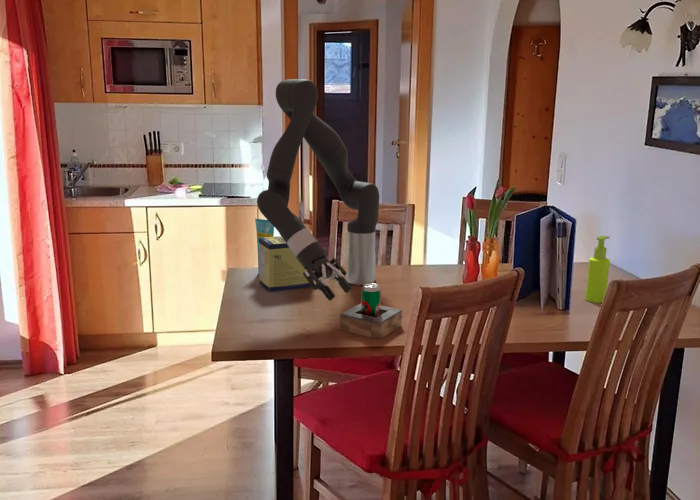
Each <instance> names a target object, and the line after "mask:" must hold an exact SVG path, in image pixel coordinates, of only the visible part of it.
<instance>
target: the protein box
mask: <svg viewBox="0 0 700 500" xmlns="http://www.w3.org/2000/svg"><path fill="white" fill-rule="evenodd" d="M305 270H306V269H304V267H303V266H302V265H301V263H300V262H299V261H298V259H297V258H296V257H295V255H294V254H293V253H292V251H291V250H290V248H289V246H288V245H287V243H286V242H285V240H284V239H283V238H282V236H281V235H279V236H274V237H264V238H259V272H258V275H259V277H258V278H259V280H258V281H259V285H260V286H262V287H263V288H264V289H266V290H267V291H268V292H269V293H270V292H279V291H287V290H288V291H289V290H296V289H297V290H298V289H307V288H312V286H311V285H310V284H309V282H308V281H307V279H306V278H305V276H304V275H303V272H304V271H305ZM313 282H315V280H314V281H313Z"/></svg>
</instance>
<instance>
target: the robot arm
mask: <svg viewBox="0 0 700 500" xmlns="http://www.w3.org/2000/svg"><path fill="white" fill-rule="evenodd" d="M275 99H276V102H277V104H278V107H280V109H281V110H282V112H283V113H284V114H285V115H286V116H287V118H288V119H289V122H288V125H287V127H286V128H285V130H284V132H283V133H282V135H281V136H280V138H279V139H278V141H277V142H276V144H275V146H274V148H273V150H272V152H271V155H270V158H269V163H268V167H267V171H266V178H267V180H268V185H267V186H268V187H267V189H264V190H262V191H261V192H260V193H259V194H258V196H257V198H256V205H257V208H258V210H259V212H260V213H261V215H262V216H263V217H264V218H265V220H268V221H269V222H270V223H271V224H272V225H273V226H274V229H276V230H277V232H278V233H279V236H282V238H283V239H284V240H285V242H286V243H287V245H288V246H289V248H290V250H291V251H292V253H293V254H294V255H295V257H296V258H297V259H298V261H299V262H300V263H301V265H302V266H303V267H304V269H306V270H305V271H304V272H303V275H304V276H305V278H306V279H307V281H308V282H309V284H310V285H311V286H312V287H311V288H312V289H313V290H314V291H317V290H318V291H321V293H322V294H323V295H324V296H325V298H326V299H327V300H328V301H329V302H330V301H333V300H334V298H335V297H336V294H335V293H334V292H333V290H332V289H331V287H330V286H329V285H327V279H329V280H334V281H335V282H337V283H338V285H339V286H340V288H341V289H342V290H343V292H344V293H345V294H347V293H349V292H350V291H351V290H352V286H351V285H350V284H352V285H356V286H357V285H358V286H362V285H364V284H368V283H375V280H376V255H377V254H376V227H377V224H378V220H379V209H380V208H379V207H380V191H379V189H378V187H377V186H376V184H375V183H373V182H365V181H359V180H357V178H355V177H354V175H353V174H352V173H351V170H350V169H349V166H348V164H349V151H348V149H347V146H346V145H345V143H344V142H343V140H342V138H341V137H340V136H339V134H338V133H337V131H336V130H334V129H333V128H332V127H331V126H330V125H329V124H327V123H326V122H325V121H323V120H322V119H321V118H320V117H318V116H317V115H316V114H315V113H314V112H315V110H316V107H317V102H318V100H319V92H318V88H317V85H316V83H314V82H313V81H312V80H311V79H305V78H304V79H302V78H300V79H299V78H298V79H297V78H295V79H294V78H293V79H284V80H281V81H280V82H279V83H278V84H277V86H276V87H275ZM303 139H304V140H305V142H306V143H307V145H308V146H309V147H310V149H311V150H312V152H313V153H314V155H315V158H317V159H316V160H318V161H319V163H320V164H321V165H322V167H323V168H324V170H325V172H326V173H327V175H328V177H329V178H330V180H331V181H332V182H333V185H334V187H335V189H336V190H337V192H338V194H339V197H340V199H341V200H342V202H343V204H344V205H345V206H346V207H347V208H349V209H351V210H355V211H357V218H355V219H352V220H349V221H348V222H347V226H346V228H347V233H346V235H347V237H346V239H347V240H346V246H347V247H346V270H345V269H344V268H343V266H342V265H341V264H340V262H338V260H337V259H336V258H335V257H333V258H332V259H330V260H328V259H327V252H326V250H325V249H324V248H323V247H322V245H321V244H320V242H319V241H318V240H317V239H316V237H315V236H314V234H312V233H311V231H310V230H309V229H308V228H307V227H306V226H305V224H304V223H303V221H302V220H301V219H300V218H299V217H298V216H297V215H296V214H294V213H293V212H292V211H291V209H290V208H289V207H288V206H289V202H290V193H291V192H290V191H291V179H292V177H293V172H294V168H295V164H296V161H297V160H296V159H297V156H298V152H299V149H300V146H301V144H302V141H303ZM345 277H346V278H345ZM313 281H314V282H315V283H314V282H313Z"/></svg>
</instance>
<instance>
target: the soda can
mask: <svg viewBox="0 0 700 500" xmlns="http://www.w3.org/2000/svg"><path fill="white" fill-rule="evenodd" d="M360 301H361V302H360V304H361V314H362V315H367V316H372V317H378V316H380V305H381V288H380V285H379V284H377V283H375V282H373V283H368V284H364V285H363V286H362V288H361V300H360Z"/></svg>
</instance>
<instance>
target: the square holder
mask: <svg viewBox="0 0 700 500" xmlns="http://www.w3.org/2000/svg"><path fill="white" fill-rule="evenodd" d="M402 313H403V310H402V309H399V308H395V307H391V306H385V305H381V304H380V316H378V317H372V316H367V315H362V314H361V303H359V304H357V305H355V306H353V307H351V308H349V309H347V310H345V311H343V312H341V313H340V329H339V330H340V331H343V332H347V333H352V334H356V335H360V336H364V337H368V338H373V339H378V340H382V339H383V338H385V337H386V336H388V335H389V334H391V333H393V331H396V330H397V329H399V328H400V327H402V323H403V322H402V319H403V318H402V317H403V314H402ZM395 329H396V330H395Z"/></svg>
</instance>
